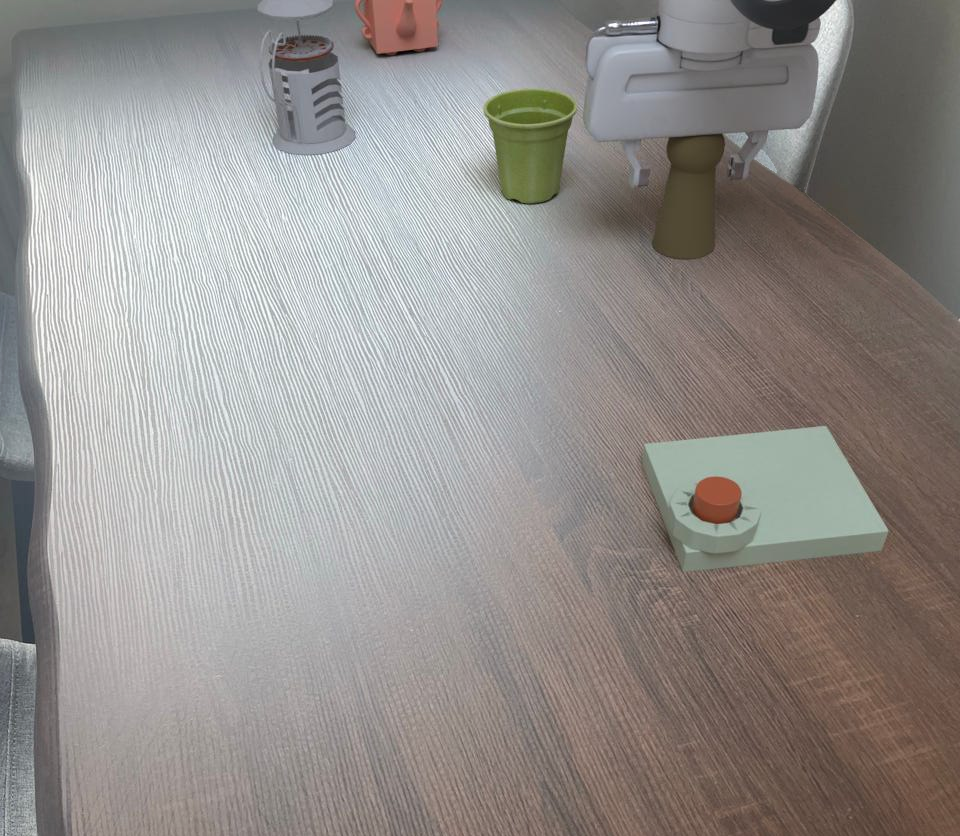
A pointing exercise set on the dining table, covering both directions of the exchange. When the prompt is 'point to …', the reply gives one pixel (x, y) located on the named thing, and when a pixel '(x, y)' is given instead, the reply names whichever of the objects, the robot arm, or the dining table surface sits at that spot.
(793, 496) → the red button base
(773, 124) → the robot arm
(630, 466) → the dining table surface
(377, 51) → the teapot
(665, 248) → the cork
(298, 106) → the french press
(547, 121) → the plant pot
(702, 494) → the red push button
